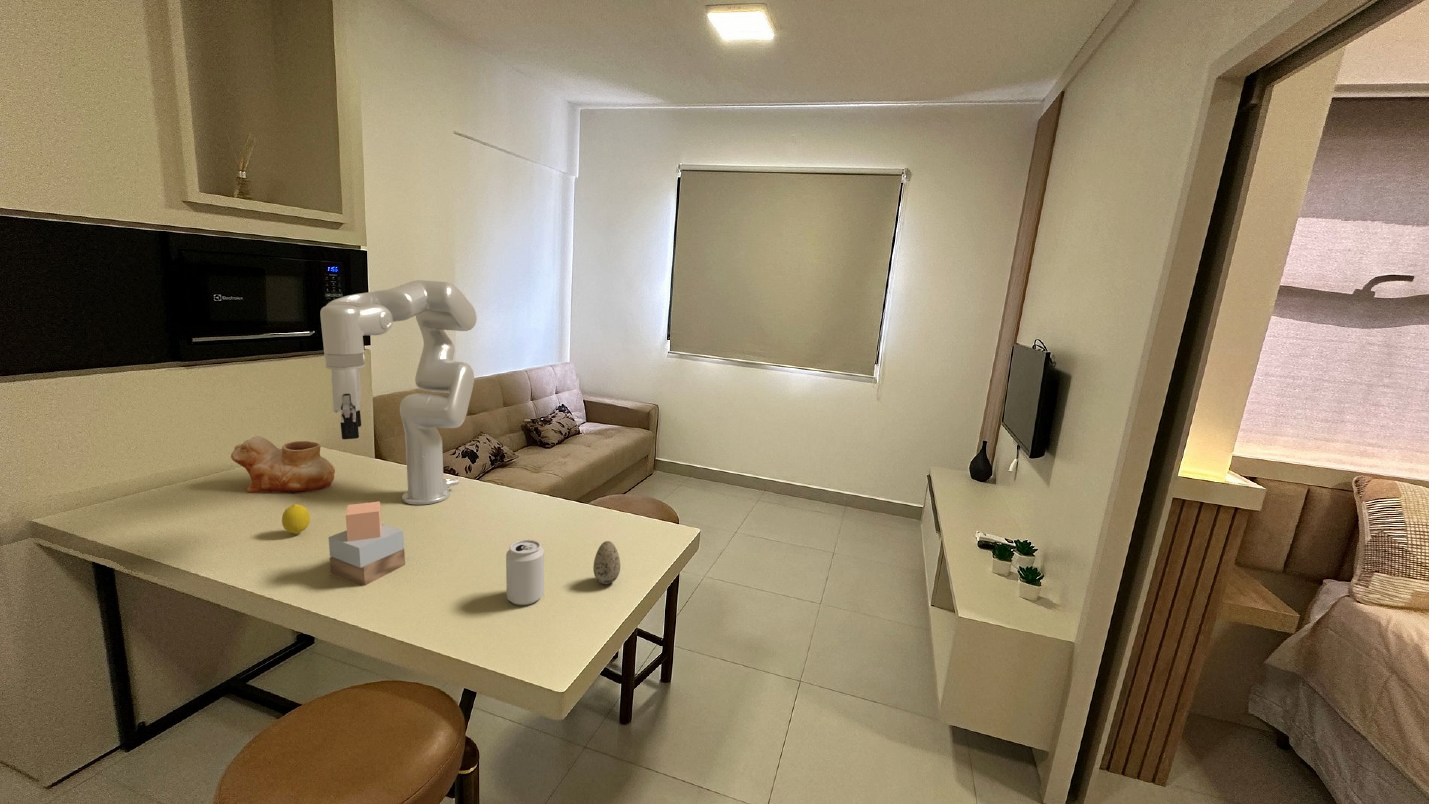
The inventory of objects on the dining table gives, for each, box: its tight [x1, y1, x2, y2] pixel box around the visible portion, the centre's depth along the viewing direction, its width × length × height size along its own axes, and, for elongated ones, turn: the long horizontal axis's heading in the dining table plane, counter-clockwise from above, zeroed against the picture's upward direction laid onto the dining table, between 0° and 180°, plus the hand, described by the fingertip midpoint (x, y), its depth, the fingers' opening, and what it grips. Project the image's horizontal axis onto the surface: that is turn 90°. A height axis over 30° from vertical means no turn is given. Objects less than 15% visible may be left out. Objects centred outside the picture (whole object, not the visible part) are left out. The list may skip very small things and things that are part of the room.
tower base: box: [329, 548, 406, 587], centre depth 122 cm, size 10×10×4 cm
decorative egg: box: [592, 540, 621, 585], centre depth 123 cm, size 6×6×10 cm
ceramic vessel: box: [230, 435, 336, 494], centre depth 164 cm, size 14×26×15 cm, turn 97°
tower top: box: [328, 522, 405, 568], centre depth 121 cm, size 10×10×4 cm
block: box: [345, 501, 382, 541], centre depth 120 cm, size 6×6×6 cm
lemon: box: [281, 503, 311, 536], centre depth 136 cm, size 6×6×8 cm
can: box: [505, 538, 545, 606], centre depth 114 cm, size 8×8×12 cm
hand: (352, 432), depth 128 cm, fingers open, 9 cm apart
